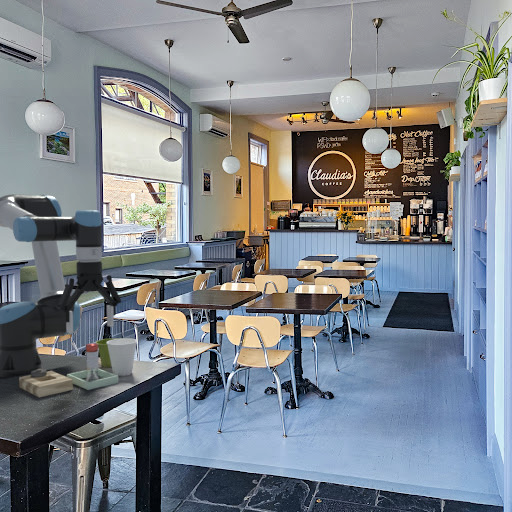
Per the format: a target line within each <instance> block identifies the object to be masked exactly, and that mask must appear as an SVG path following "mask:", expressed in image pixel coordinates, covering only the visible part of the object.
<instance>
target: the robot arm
mask: <svg viewBox="0 0 512 512" xmlns="http://www.w3.org/2000/svg"><path fill="white" fill-rule="evenodd" d="M62 215H63V213H62V208H61V204H60V202H59V201H58V200H57V198H56V197H54V196H52V195H45V194H39V195H38V194H36V195H35V194H7V195H4V196H1V197H0V227H3V228H8V229H10V230H12V232H13V236H14V239H15V240H16V241H17V242H21V243H23V242H25V243H31V245H32V252H33V253H32V254H33V259H34V264H35V270H36V276H37V282H38V287H39V293H40V297H39V298H38V299H37V301H36V302H37V304H36V303H35V301H32V300H31V301H30V300H27V301H26V300H25V301H18V302H13V303H10V304H6V305H4V306H2V307H0V379H1V378H2V379H8V378H9V379H10V378H15V377H18V376H19V377H21V376H26V375H31V372H32V371H34V370H36V369H42V370H44V369H43V368H44V367H43V362H42V359H41V356H40V353H39V351H38V349H37V340H38V339H39V340H40V339H45V338H46V339H47V338H53V337H61V336H62V337H64V336H66V335H73V334H75V333H76V332H77V331H78V329H79V327H80V323H81V318H82V317H81V315H82V314H81V313H82V312H81V306H80V303H79V302H78V300H79V299H80V297H81V295H82V294H84V292H86V293H88V292H91V291H92V292H96V291H97V292H98V293H99V295H101V297H102V298H103V299H104V300H105V301H106V302H107V303H108V305H106V322H107V323H106V325H107V327H110V328H114V326H115V323H114V322H115V321H114V316H116V312H117V310H116V307H117V306H118V304H120V303H121V302H122V298H120V295H119V293H118V291H117V290H116V287H115V285H114V283H113V280H112V275H110V274H104V275H103V274H102V273H103V262H102V259H103V258H102V257H103V255H102V254H103V253H102V251H103V250H102V249H103V248H102V246H103V245H102V241H103V240H102V224H103V221H102V215H101V212H100V211H99V210H94V209H93V210H91V209H90V210H89V209H87V210H83V209H82V210H76V212H75V215H74V216H62ZM61 241H62V242H63V241H64V242H65V241H69V242H70V241H75V253H76V255H75V256H76V257H75V258H76V259H75V260H77V261H76V266H75V267H76V278H71V277H67V278H66V282H65V279H64V274H63V268H62V263H61V257H60V252H59V248H58V242H61ZM65 283H66V285H65ZM102 283H105V285H106V288H107V290H108V291H109V292H108V291H107V290H106V289H105V287H104V286H103V285H102ZM76 284H77V287H76V288H75V290H74V292H73V289H74V286H75V285H76ZM72 292H73V293H72ZM109 293H110V294H109Z"/></svg>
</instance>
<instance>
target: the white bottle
mask: <svg viewBox="0 0 512 512" xmlns="http://www.w3.org/2000/svg"><path fill="white" fill-rule="evenodd" d="M85 365H86V366H85V369H86V376H87V377H86V381H87V382H91V381H95V380H99V379H100V376H99V370H98V369H99V349H98V344H96V342H94V343H87V344H85Z"/></svg>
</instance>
